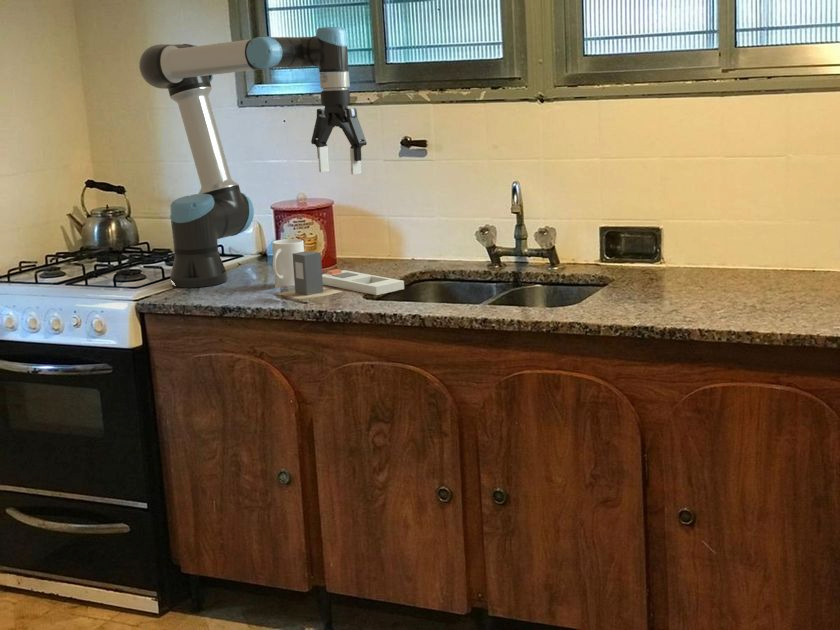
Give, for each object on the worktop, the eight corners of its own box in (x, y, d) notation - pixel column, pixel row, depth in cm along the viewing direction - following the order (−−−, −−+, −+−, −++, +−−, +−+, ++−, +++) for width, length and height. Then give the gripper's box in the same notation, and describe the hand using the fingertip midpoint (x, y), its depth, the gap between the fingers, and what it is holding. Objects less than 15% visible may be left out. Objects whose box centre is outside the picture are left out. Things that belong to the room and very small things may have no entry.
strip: (304, 284, 274) (303, 269, 273) (331, 278, 280) (330, 264, 279) (376, 298, 252) (375, 283, 252) (404, 292, 258) (403, 277, 257)
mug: (286, 293, 264) (283, 246, 261) (260, 291, 268) (256, 245, 265) (313, 284, 274) (310, 239, 271) (288, 282, 278) (284, 238, 275)
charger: (295, 293, 258) (292, 253, 256) (311, 289, 262) (308, 250, 259) (306, 295, 255) (304, 255, 253) (323, 292, 258) (320, 252, 256)
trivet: (276, 297, 259) (275, 293, 259) (314, 289, 267) (314, 285, 267) (304, 304, 250) (304, 300, 250) (343, 295, 258) (343, 291, 258)
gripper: (294, 90, 271) (300, 172, 276) (353, 89, 253) (358, 176, 258) (317, 89, 276) (322, 169, 281) (377, 88, 258) (381, 173, 263)
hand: (340, 172), depth 269 cm, fingers open, 13 cm apart
